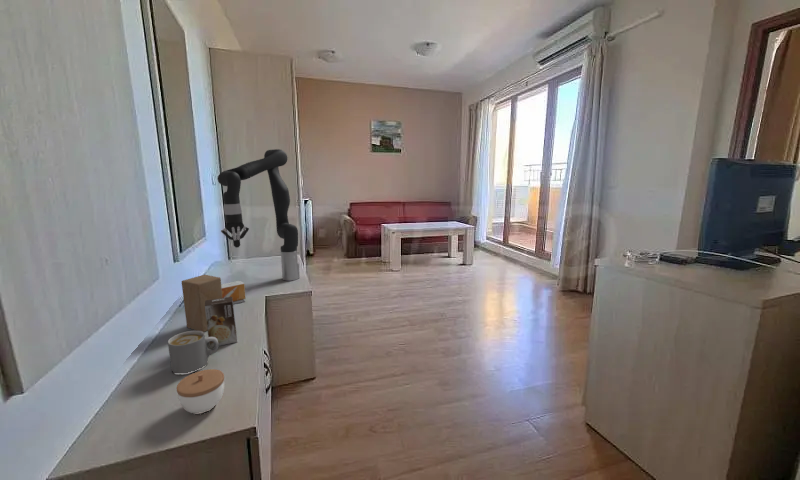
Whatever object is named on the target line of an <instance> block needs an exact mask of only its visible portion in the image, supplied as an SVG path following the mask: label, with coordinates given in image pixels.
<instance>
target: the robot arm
mask: <svg viewBox="0 0 800 480" xmlns="http://www.w3.org/2000/svg"><path fill="white" fill-rule="evenodd" d="M287 162H288V154H287V153H286V152H285V150H282V149H279V148H276V149H275V148H274V149H268V150H266V151H265V152H264V156H263V158H259V159H256V160H253V161H249V162H246V163H244V164H241V165H239V166H236V167H234V168H229V169H226V170H224V171H221V172H220V173H219V174H218V176H217V182H218V184H219V185H221V186H223V187H226V191H225V192H223V193H222V200H223V211H224V212H223V214H224V221H225V226H224V228H223V229H221V230H220V233H222V234H223V235H224V236H225V237H226V238H227V239H229V240H230V241H232V244H233V247H235V248H236V249H237V248H240V246H241V240H242V239H243V238H245V236H246V235H247V233H248V231H249V230H250V228H249V227H247V226H245V224H244V223H243V222H244V221H243V213H242V212H243V211H242V206H241V201H240V192H241V185H242V181H245V180H249V179H250V178H252V177H255V176H256V175H258V174H260V173H263V172H267V174H268V179H269V183H270V188H271V189H270V191H271V197H272V202H273V206H274V207H273V208H274V215H275V221H276V223H275V224H276V233H277V236H278V237H279V238H280V239H283V245H281V246H280V260H281V261H280V262H281V263H280V264H281V277H282V280H283V281H286V282H287V281H295V280H298V279H301V278H300V277H301V276H300V263H299V262H298V260H299V259H298V246H299V231H298V227H297V226H296V225H294V224H291V223H289V218H288V217H289V216H288V213H289V212H288V211H289V209H290V203H291V199H290V198H291V197H290V192H289V191H290V190H289V188H288V186H287V184H286V183H285V182H284V179H283V178H282V176H281V174H280V169H279V167H283V166H285V165H286V164H287ZM228 232H229V233H230V234H231V235H229V233H228Z"/></svg>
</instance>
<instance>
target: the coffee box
mask: <svg viewBox="0 0 800 480" xmlns="http://www.w3.org/2000/svg"><path fill="white" fill-rule="evenodd" d="M205 313H206V321H207V329H208V330H207V335H208V336H207V337H215V338H217V340H218V344H219V346H218V347H220V346H224V345H230V344H235V343H238V333H237V327H236V319H235V318H236V317H235V310H234V304H233V298H232V297H226V298H219V299H212V300H205ZM208 343H209V344H208V345H209V348H210V347H211V348H214V347H213V346H214V343H213V342H212V341H209V342H208Z"/></svg>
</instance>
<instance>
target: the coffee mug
mask: <svg viewBox="0 0 800 480" xmlns="http://www.w3.org/2000/svg"><path fill="white" fill-rule="evenodd" d="M209 341H212V342H213V343H214V347H212V348H211V349H209V348H208V343H209ZM167 345H168V353H169V355H168V356H169V360H170V368H171V372H172V371H173V372H174V373H188V372H191V371H195V370H197V369H199V368H202V367H203V366H205V365H206V364H207V361H208V360H209V357H210V356H212V355H213V354H215V353H216V352H218V350H219V347H220V346H219V344H218V340H217V338H215V337H208V336H206V333H205V332H202V331H196V330H189V331H183V332H180V333H178V334H174V335H173V336H171V337H170V338H169V339H168V340H167ZM208 362H209V361H208ZM207 365H208V364H207ZM207 365H206V366H207ZM206 366H205V367H206Z"/></svg>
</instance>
